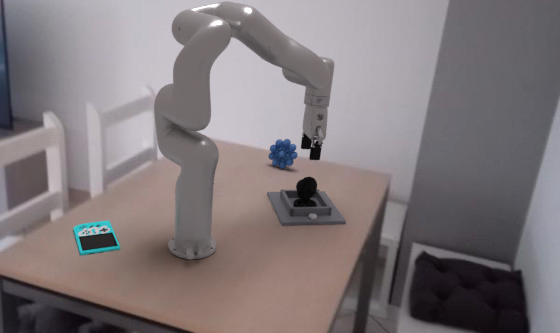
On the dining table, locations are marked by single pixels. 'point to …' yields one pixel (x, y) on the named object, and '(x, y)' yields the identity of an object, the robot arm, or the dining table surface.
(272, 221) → the dining table surface
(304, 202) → the webcam
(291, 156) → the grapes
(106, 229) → the handheld game console
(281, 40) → the robot arm
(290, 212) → the housing
